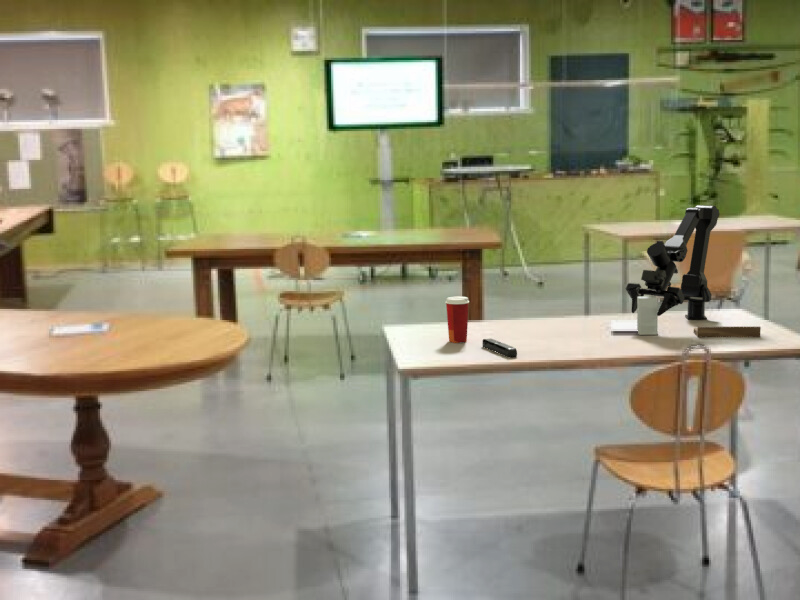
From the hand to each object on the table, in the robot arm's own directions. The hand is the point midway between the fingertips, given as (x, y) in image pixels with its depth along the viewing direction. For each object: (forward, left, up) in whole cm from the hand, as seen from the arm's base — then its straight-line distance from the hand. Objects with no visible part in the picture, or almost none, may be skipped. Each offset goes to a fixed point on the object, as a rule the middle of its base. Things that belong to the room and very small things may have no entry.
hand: (645, 313), depth 321 cm
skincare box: (-1, +1, -7) cm, 7 cm away
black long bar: (+26, -46, -7) cm, 54 cm away
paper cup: (+10, -60, -7) cm, 61 cm away
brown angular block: (+1, +25, -7) cm, 26 cm away
